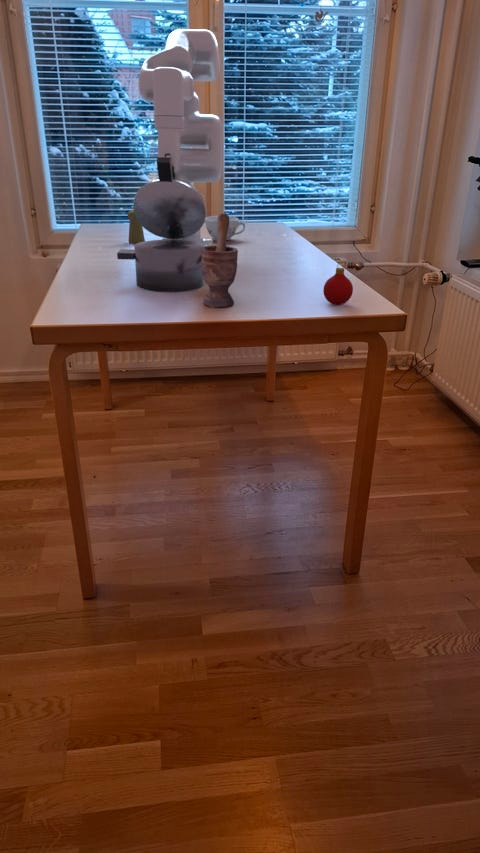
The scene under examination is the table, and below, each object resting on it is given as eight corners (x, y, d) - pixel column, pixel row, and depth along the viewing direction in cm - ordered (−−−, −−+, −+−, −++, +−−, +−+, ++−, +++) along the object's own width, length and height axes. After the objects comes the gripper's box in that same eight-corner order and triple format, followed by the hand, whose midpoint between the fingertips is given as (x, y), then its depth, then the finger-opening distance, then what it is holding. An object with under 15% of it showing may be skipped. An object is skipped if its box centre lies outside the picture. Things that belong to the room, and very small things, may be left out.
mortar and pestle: (196, 296, 146) (195, 212, 137) (230, 295, 148) (231, 212, 139) (204, 309, 136) (203, 220, 127) (240, 307, 138) (241, 219, 129)
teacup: (203, 242, 212) (203, 219, 208) (205, 236, 223) (205, 215, 219) (244, 243, 212) (245, 220, 208) (244, 237, 223) (245, 215, 219)
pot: (128, 273, 167) (126, 237, 162) (221, 275, 167) (221, 239, 162) (114, 290, 150) (111, 251, 145) (217, 293, 149) (217, 253, 145)
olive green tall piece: (141, 244, 207) (139, 211, 201) (125, 243, 208) (123, 211, 202) (147, 241, 212) (145, 209, 207) (131, 240, 213) (129, 208, 208)
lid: (139, 238, 161) (140, 230, 163) (207, 239, 161) (207, 232, 162) (123, 162, 140) (125, 154, 141) (202, 163, 139) (203, 156, 141)
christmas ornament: (324, 308, 139) (328, 266, 135) (320, 300, 145) (323, 259, 141) (353, 308, 139) (358, 266, 135) (348, 300, 146) (352, 260, 141)
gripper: (159, 124, 155) (161, 197, 163) (150, 123, 141) (153, 203, 150) (187, 124, 154) (188, 198, 163) (180, 124, 141) (182, 204, 150)
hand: (171, 200), depth 156 cm, fingers closed
